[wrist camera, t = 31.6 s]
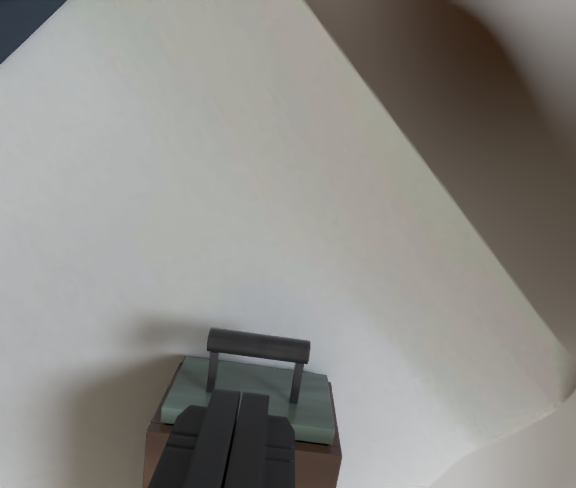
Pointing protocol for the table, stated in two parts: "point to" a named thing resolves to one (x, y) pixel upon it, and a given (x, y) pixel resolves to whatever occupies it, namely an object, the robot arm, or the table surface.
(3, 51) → the mat
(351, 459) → the table surface
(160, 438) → the cabinet
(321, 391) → the drawer
